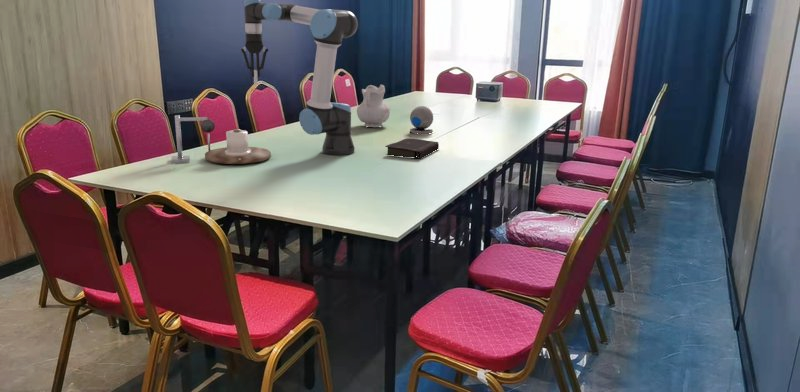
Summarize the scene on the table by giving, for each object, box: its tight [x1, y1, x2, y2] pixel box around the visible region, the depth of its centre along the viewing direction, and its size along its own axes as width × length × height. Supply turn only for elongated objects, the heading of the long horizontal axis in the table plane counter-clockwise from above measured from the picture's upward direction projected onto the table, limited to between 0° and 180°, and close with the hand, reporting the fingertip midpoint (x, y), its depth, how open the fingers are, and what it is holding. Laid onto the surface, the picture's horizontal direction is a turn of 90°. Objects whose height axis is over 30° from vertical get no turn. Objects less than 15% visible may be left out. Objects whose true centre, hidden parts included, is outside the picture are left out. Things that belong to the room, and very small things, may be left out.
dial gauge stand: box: [171, 114, 216, 164], centre depth 255 cm, size 18×7×20 cm, turn 107°
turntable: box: [204, 146, 272, 165], centre depth 262 cm, size 28×28×2 cm
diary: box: [384, 137, 440, 160], centre depth 284 cm, size 19×25×5 cm
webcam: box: [409, 105, 434, 135], centre depth 335 cm, size 13×13×15 cm
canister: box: [225, 128, 251, 157], centre depth 259 cm, size 11×11×11 cm
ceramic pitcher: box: [356, 84, 391, 127], centre depth 348 cm, size 22×20×25 cm
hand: (255, 83), depth 286 cm, fingers closed
